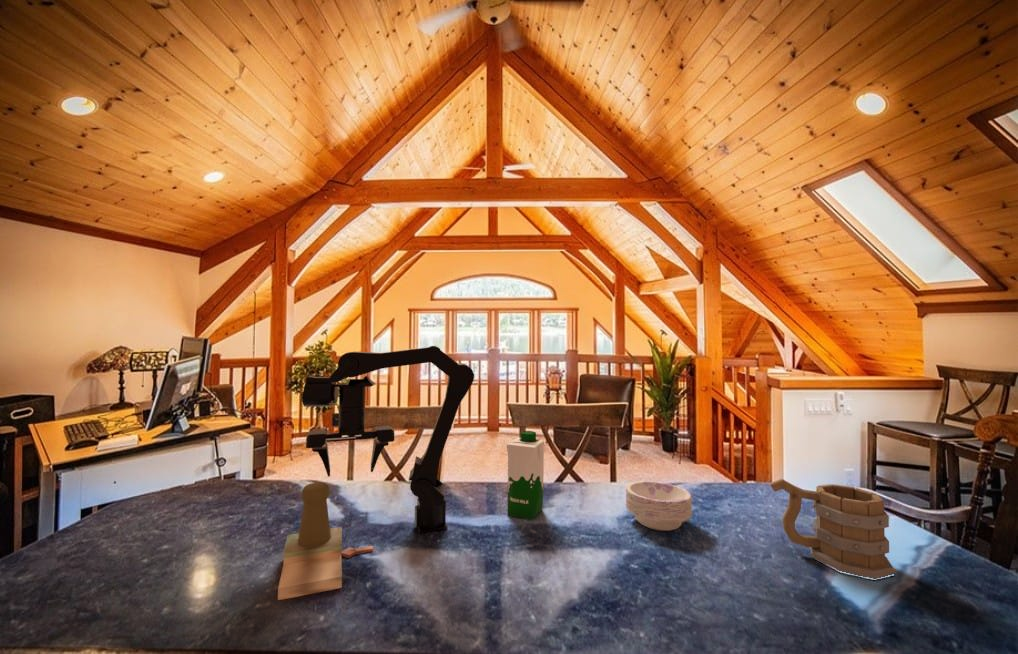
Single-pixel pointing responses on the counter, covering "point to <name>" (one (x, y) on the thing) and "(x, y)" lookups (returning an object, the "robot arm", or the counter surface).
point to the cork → (314, 515)
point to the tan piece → (313, 566)
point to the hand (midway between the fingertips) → (350, 473)
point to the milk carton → (525, 475)
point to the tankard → (842, 528)
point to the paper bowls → (659, 504)
